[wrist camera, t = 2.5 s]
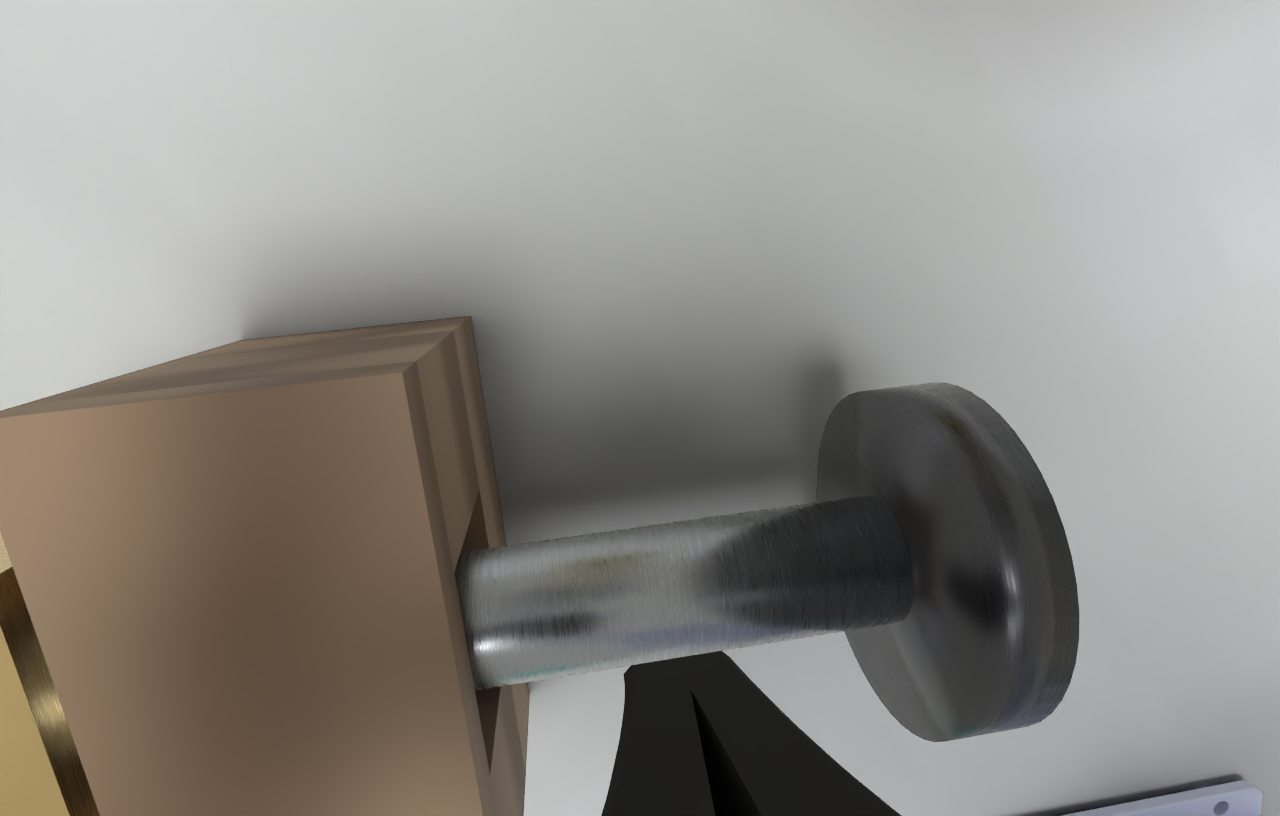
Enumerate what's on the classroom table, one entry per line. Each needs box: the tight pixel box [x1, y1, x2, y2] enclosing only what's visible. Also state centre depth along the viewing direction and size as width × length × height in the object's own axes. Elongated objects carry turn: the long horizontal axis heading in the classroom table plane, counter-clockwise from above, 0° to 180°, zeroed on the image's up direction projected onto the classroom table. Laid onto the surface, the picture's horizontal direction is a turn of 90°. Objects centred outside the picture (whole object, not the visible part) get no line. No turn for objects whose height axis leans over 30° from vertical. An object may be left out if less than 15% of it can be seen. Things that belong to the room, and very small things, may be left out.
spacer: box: [0, 532, 100, 816], centre depth 12 cm, size 2×6×6 cm, turn 5°
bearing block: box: [0, 316, 530, 816], centre depth 13 cm, size 5×10×7 cm, turn 5°
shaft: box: [454, 383, 1079, 742], centre depth 12 cm, size 18×6×6 cm, turn 95°
